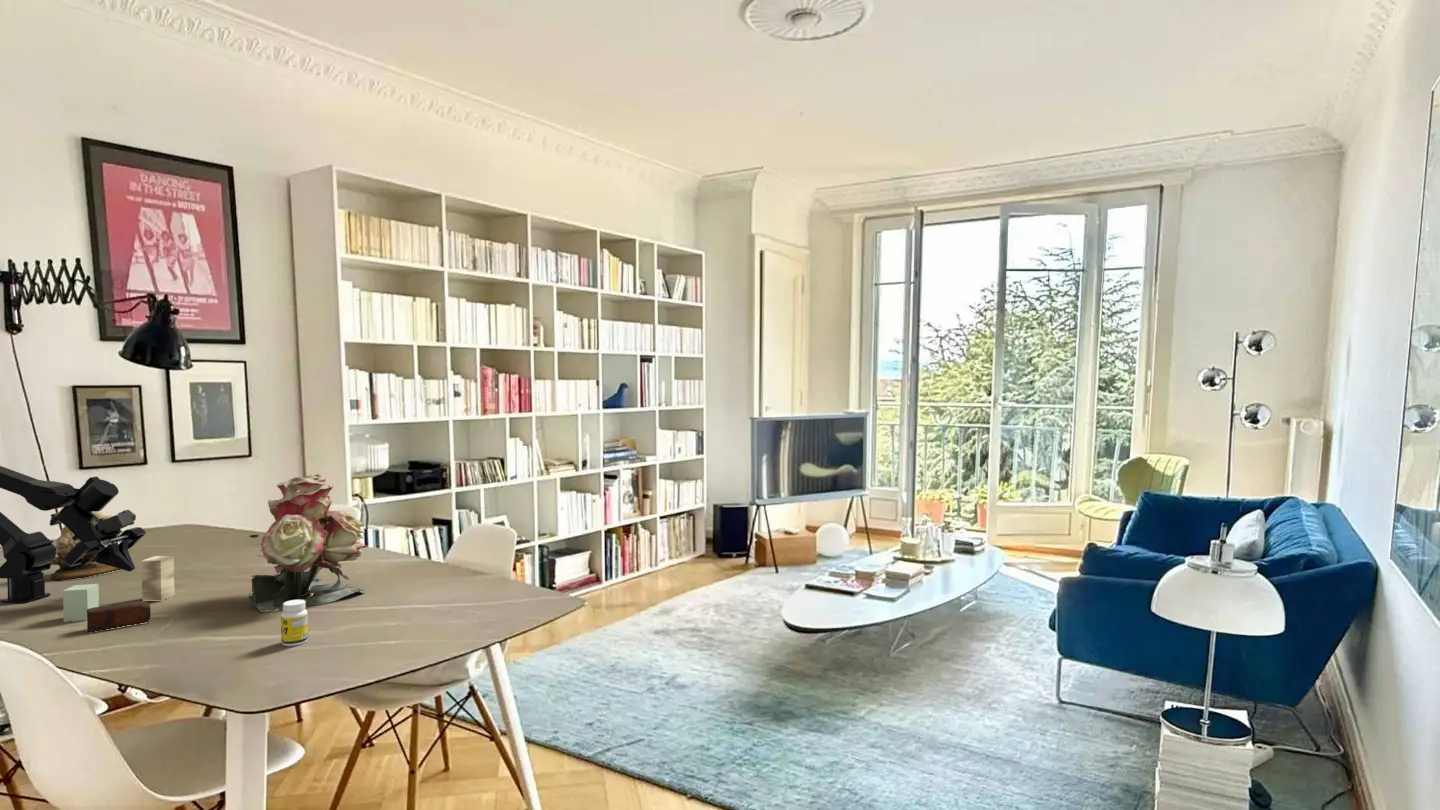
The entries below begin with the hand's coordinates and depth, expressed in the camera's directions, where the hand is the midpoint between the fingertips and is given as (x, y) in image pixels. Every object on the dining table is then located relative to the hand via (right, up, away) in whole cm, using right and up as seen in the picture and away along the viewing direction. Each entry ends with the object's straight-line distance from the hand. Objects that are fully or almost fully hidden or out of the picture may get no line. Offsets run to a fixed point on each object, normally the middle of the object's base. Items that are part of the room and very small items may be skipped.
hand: (132, 569), depth 180 cm
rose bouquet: (+40, -8, +6) cm, 41 cm away
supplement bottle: (+56, -9, -28) cm, 63 cm away
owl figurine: (-30, -6, +24) cm, 39 cm away
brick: (+12, -8, -19) cm, 24 cm away
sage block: (0, -8, -14) cm, 16 cm away
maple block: (+6, -7, +1) cm, 9 cm away
